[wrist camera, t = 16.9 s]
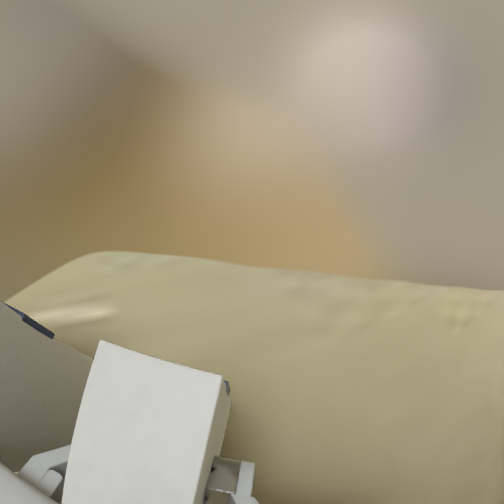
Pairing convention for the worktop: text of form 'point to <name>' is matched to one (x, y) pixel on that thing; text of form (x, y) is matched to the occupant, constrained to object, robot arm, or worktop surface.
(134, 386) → the white book
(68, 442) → the white book
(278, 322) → the worktop surface
